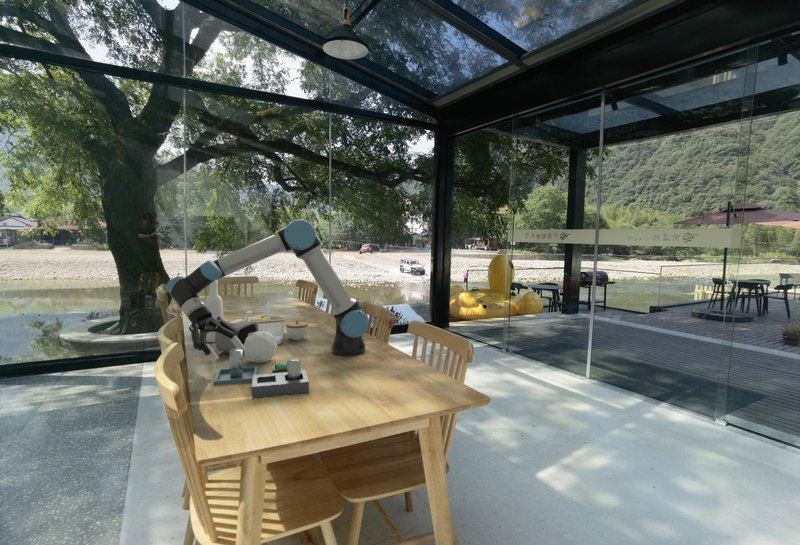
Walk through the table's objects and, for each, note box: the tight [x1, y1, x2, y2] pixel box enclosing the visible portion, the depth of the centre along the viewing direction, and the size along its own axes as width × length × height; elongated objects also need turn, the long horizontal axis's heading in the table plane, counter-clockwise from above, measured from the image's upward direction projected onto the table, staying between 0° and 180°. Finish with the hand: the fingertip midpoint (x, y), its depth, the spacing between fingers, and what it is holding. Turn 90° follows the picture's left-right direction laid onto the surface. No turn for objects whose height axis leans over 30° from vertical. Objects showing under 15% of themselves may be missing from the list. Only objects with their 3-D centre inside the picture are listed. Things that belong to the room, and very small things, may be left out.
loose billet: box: [229, 349, 244, 379], centre depth 153 cm, size 4×4×10 cm
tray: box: [213, 365, 258, 387], centre depth 153 cm, size 14×14×2 cm
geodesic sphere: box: [243, 329, 278, 364], centre depth 173 cm, size 14×14×14 cm
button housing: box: [271, 363, 287, 373], centre depth 156 cm, size 7×7×4 cm
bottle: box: [205, 280, 224, 343], centre depth 206 cm, size 8×8×30 cm
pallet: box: [251, 370, 310, 400], centre depth 143 cm, size 18×12×4 cm, turn 107°
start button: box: [275, 361, 287, 369], centre depth 156 cm, size 4×4×3 cm
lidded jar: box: [285, 319, 309, 341], centre depth 213 cm, size 11×11×9 cm
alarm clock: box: [214, 318, 260, 354], centre depth 191 cm, size 21×10×13 cm, turn 170°
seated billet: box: [286, 358, 301, 381], centre depth 144 cm, size 4×4×10 cm
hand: (230, 355), depth 153 cm, fingers open, 13 cm apart
